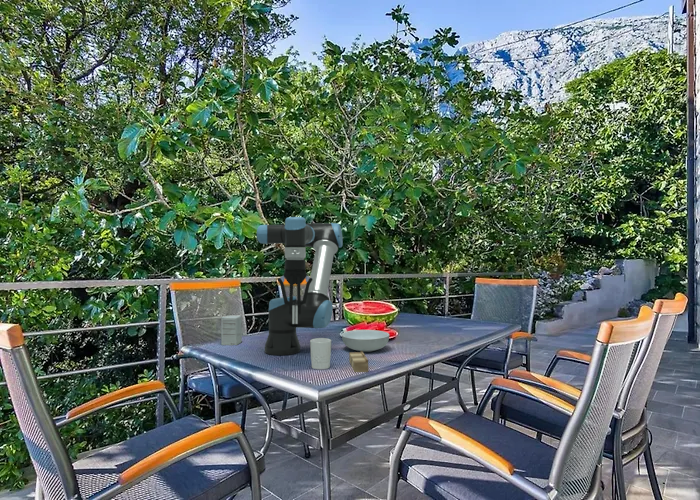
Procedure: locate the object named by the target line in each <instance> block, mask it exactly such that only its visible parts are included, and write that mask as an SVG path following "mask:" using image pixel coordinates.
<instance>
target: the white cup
mask: <svg viewBox="0 0 700 500" xmlns="http://www.w3.org/2000/svg"><path fill="white" fill-rule="evenodd" d="M309 341H310V342H309V345H310V362H311V369H314V370H327V369H329V368H331V367H330V366H331V363H330V362H331V358H332V356H331V353H332V339H330V338H325V337H318V338H312V339H310V340H309Z"/></svg>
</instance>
